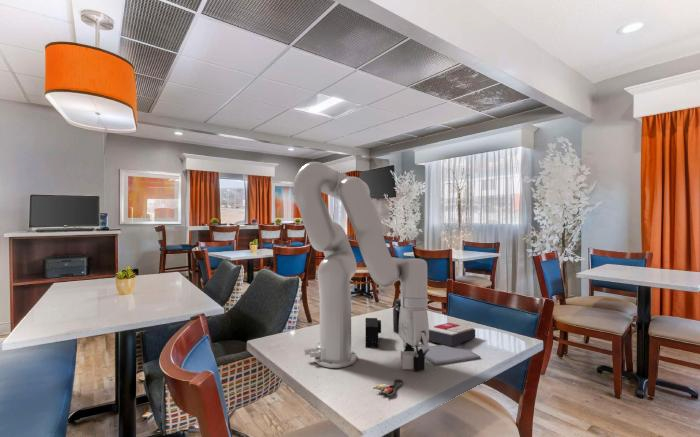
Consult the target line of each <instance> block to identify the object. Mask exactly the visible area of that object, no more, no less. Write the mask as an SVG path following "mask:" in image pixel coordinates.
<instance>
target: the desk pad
mask: <svg viewBox="0 0 700 437" xmlns="http://www.w3.org/2000/svg"><path fill="white" fill-rule="evenodd" d="M429 348H430V350H429V351H428V352H427V353H426V356H425V361H427V362H429V363H430V364H431V365H433V366H441V365H447V364H448V365H449V364H452V363H453V364H454V363H455V364H456V363H461V362H467V361H473V360H474V361H475V360H479V359H481V356H480V355H479V354H477V353H476V352H473V351H472V350H469V348H468V349H467V348H466V347H465V346H462V345H461V344H459V345H457V346H454V347H451V346H448V345H444V344H439V345H438V344H437V345H432V346H431V345H430V346H429ZM420 349H421V347H418V351H419V350H420Z"/></svg>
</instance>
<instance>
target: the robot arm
mask: <svg viewBox="0 0 700 437" xmlns="http://www.w3.org/2000/svg"><path fill="white" fill-rule="evenodd" d="M292 188H293V191H292V192H293V196H294V199H295V203H296V205H297V208H298V211H299V214H300V218H301V220H302V223H303V226H304V229H305V232H306V235H307V237H308V241H309V244H310V245H311V247H312V248H313V249H314V250H315V251H317V252H320V253H321V252H322V253H323V255H324V258H323V259H322V260H321V261H320V263H319V265H318V267H317V283H318V291H319V292H318V296H319V342H317V343H316V345H314V347H306V348H305V347H304V349H303V355H304V356H309V358H314V362H315V364H317V365H318V366H321V367H323V368H330V369H334V368H335V369H337V368H341V369H342V368H346V367H348V366H351V365H353V364H354V363H355V362H356V361H357V353H355V352H354V351H353V350H352V293H351V291H352V290H351V285H350V284H351V282H350V280H351V279H353V277H354V276H355V274H356V271H357V268H358V266H357V261H356V257H355V254H354V252H353V249H352V247H351V244H350V241H349V238H348V235H347V233H346V230H345V229H344V228H343V226H342V225H340V224H339V223H338V222H336V221H334V220H333V219H332V217H331V215H330V212H329V208H328V206H327V203H326V202H325V200H324V198H323V195H322V193H323V194H325V195H328V196H330V197H333V198H335V199H337V200H339V201H341V204H342V206H343V208H344V210H345V213H346V216H347V217H348V219H349V221H350V224H351V226H352V229H353V231H354V233H355V239H356V241H357V245H358V247H359V251H360V254H361V257H362V259H363V262H364V264H365V266H366V268H367V271H368V273H369V275H370V277H371V279H372V280H373V282H374V283H376V285H378V286H379V287H384V288H388V287H391V286H393V285H394V284H395V283H396V282H400V299H401V307H400V313H399V334H398V337H399V338H400V339H401V340H402V341H403V345H402V346H403V351H414V352H415V356H414V370H413V371H414V372H420V371H425V368H426V366H425V365H426V359H425V356H426V353H427V352H428V351H429V350H430V348H429V343H430V341H429V328H430V327H429V324H430V323H429V316H428V263H427V261H426V260H425V259H422V258H412V257H411V258H398V257H395V256H394V257H392V255H391V253H390V252H391V251H390V250H389V248H388V245H387V243H386V240H385V237H384V236H385V235H384V232H383V223H382V219H381V217H380V215H379V213H378V211H377V209H376V207H375V204H374V202H373V200H372V198H371V190H370V188H369V185H368V184H367V183H366V182H365V181H364V180H363V179H361V178H359V177H357V176H349V175H348V174H344V173H343V172H339V171H338V170H335V169H333V168H331V167H329V166H328V165H326V164H325V163H323V162H320V161H310V162H307V163H306V164H304V165H302V167H301V168H299V170H298V172H297V174H296V176H295V177H294V181H293V186H292ZM418 348H421V349H420V350H419V351H418Z"/></svg>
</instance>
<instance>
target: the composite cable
mask: <svg viewBox="0 0 700 437" xmlns="http://www.w3.org/2000/svg"><path fill="white" fill-rule="evenodd" d="M398 383H399V384H398ZM403 385H404V381H403V379H398V378H397V379H394V381H393V384H392V385H389V384H387V383H386V384H384V383H379V384H376V385H375V386H372V389H373V390H380V392H379V396H382V395H385V396H386V397H387V399H392V398H394V397H395V396H396V391H397V390H398V389H399V388H400V387H402V386H403Z"/></svg>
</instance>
